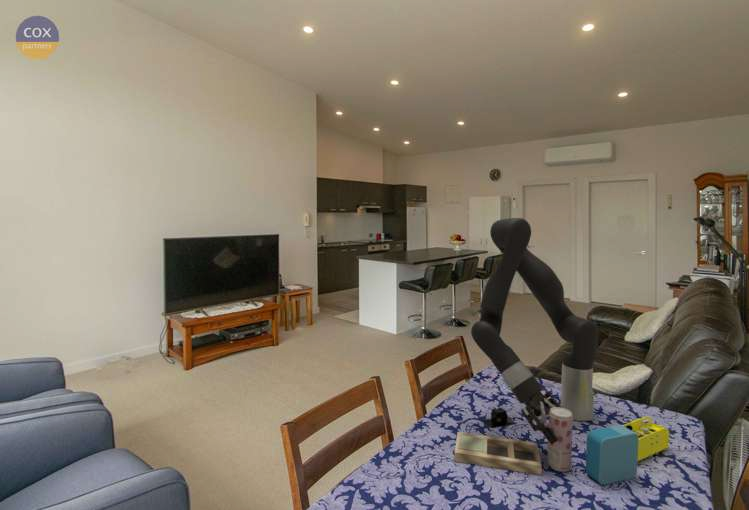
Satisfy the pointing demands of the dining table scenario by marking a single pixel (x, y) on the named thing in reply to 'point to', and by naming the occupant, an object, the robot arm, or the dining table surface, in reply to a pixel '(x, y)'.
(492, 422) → the black open box
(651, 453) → the yellow toy chassis
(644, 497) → the dining table surface
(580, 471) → the dining table surface
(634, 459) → the data package
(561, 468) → the beverage can
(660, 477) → the dining table surface
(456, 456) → the board
